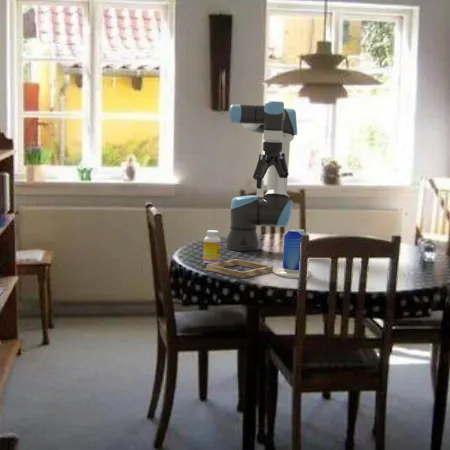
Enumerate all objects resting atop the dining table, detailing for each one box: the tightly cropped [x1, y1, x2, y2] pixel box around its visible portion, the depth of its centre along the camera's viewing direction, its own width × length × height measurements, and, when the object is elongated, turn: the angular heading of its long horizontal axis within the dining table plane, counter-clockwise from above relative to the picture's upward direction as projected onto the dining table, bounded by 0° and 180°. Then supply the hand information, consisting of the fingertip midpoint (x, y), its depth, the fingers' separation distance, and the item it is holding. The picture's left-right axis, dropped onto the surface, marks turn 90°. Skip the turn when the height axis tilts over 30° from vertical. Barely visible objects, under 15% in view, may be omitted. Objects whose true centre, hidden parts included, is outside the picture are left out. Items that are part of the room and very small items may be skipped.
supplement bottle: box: [202, 229, 222, 265], centre depth 314 cm, size 7×7×13 cm
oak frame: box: [205, 258, 274, 279], centre depth 302 cm, size 18×18×2 cm
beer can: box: [282, 227, 307, 273], centre depth 298 cm, size 8×8×16 cm
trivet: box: [273, 267, 312, 279], centre depth 299 cm, size 14×14×1 cm
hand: (270, 195), depth 312 cm, fingers open, 13 cm apart
